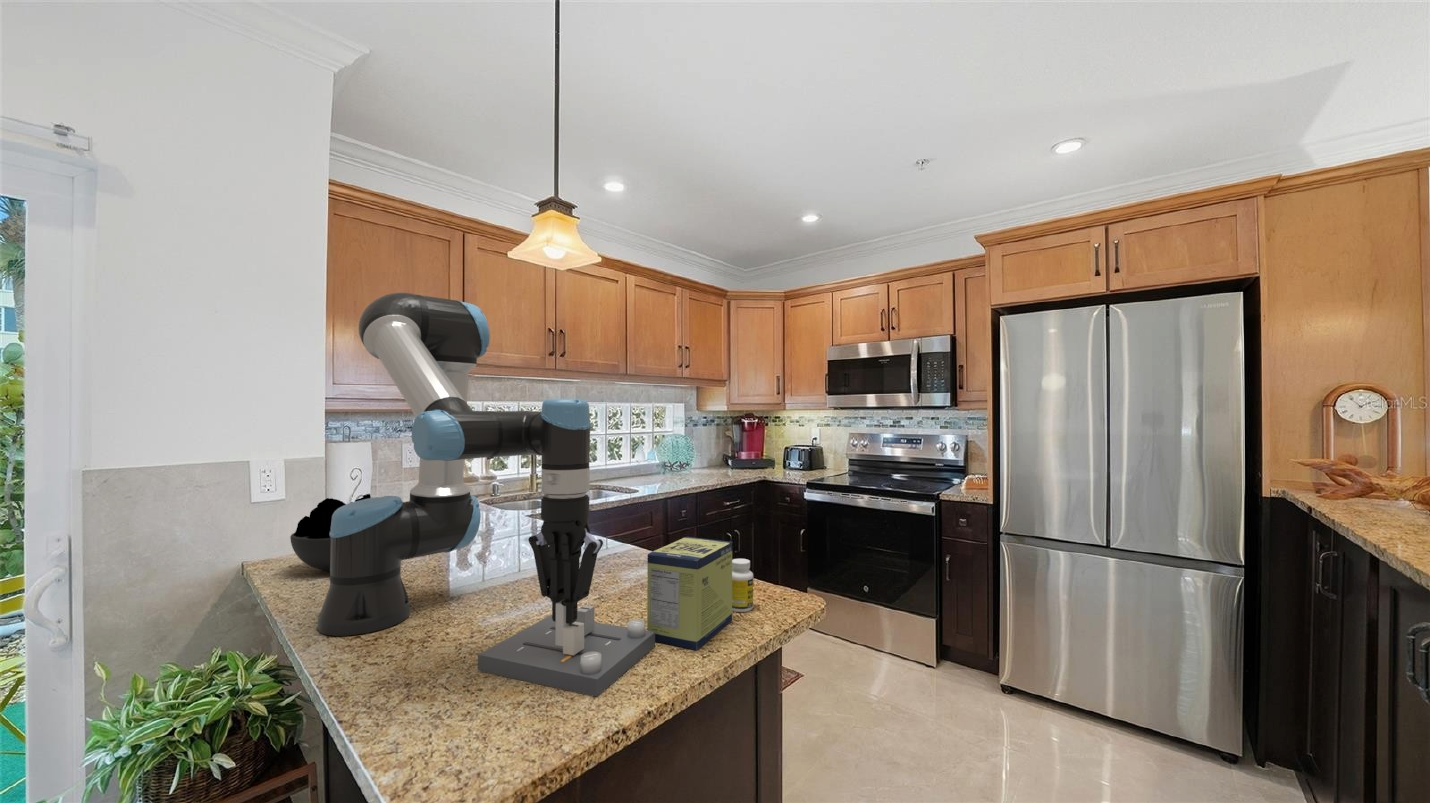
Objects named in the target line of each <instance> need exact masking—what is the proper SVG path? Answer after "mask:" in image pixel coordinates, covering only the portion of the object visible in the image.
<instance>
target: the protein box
mask: <svg viewBox="0 0 1430 803" xmlns="http://www.w3.org/2000/svg"><path fill="white" fill-rule="evenodd" d="M732 560H733V541H727V540H719V539H710V538H699V537H692V536H685V537H682V538H681V539H678V540H675V541H674V542H671V543H670V544H667V545H665V546H661V547H660V548H658V549H655V550H653V551H651V552H649V553H647V582H646V584H647V587H646V588H647V594H646V595H647V598H646V599H647V600H646V601H647V602H646V604H647V606H646V607H647V611H646V615H647V616H646V617H647V618H646V620H647V621H646V622H647V624H646V625H647V626H646V628H647V629H646V631H652V632H655V643H656V642H657V643H661V644H667V645H671V646H676V647H680V648H683V649H684V648H685V649H690V650H694V651H698V650H699V649H700V648H702V647H703V646H704V645H706V644H707V642H709V641H710V640H711V639H713V637H715V636H716V635H717V634H718V633H719V632H720V631H721V630H723V629H724V628H725V627H726V626H728V625H729V624H730V623H731V622H732V621H733V611H732Z"/></svg>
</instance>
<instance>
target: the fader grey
mask: <svg viewBox="0 0 1430 803" xmlns="http://www.w3.org/2000/svg"><path fill="white" fill-rule="evenodd" d="M575 622H580V623H584V636H585V635H587V634H589V633H590V632H592V631H593V630H594V622H595V606H593V605H586V604H584V605H583V606H581V607H579V608H577V620H576V621H575Z"/></svg>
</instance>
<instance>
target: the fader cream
mask: <svg viewBox="0 0 1430 803" xmlns="http://www.w3.org/2000/svg"><path fill="white" fill-rule="evenodd" d="M582 649H584V623H580V622H574V623H572V624H569V625H567V626H566V627H564V628H563V654H568V655H573V656H574V655H575V654H577V653H578V652H579V651H581V650H582Z"/></svg>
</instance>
